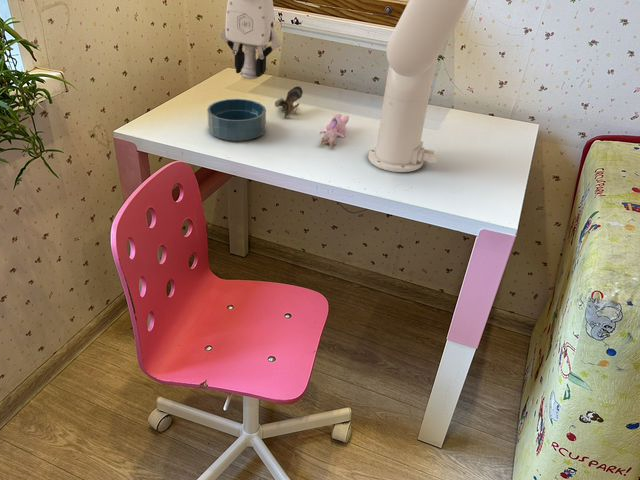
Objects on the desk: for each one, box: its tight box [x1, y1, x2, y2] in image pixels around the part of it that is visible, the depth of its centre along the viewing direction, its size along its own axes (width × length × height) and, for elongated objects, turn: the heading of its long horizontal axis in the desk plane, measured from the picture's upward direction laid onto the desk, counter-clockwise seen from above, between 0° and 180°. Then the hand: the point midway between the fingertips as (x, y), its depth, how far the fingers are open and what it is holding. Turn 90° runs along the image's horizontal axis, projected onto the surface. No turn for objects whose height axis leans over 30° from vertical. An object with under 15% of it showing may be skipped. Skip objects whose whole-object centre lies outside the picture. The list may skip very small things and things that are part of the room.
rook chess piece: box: [240, 44, 259, 80], centre depth 126 cm, size 4×4×8 cm
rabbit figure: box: [319, 113, 350, 149], centre depth 137 cm, size 6×6×15 cm
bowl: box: [206, 98, 267, 142], centre depth 138 cm, size 14×14×6 cm
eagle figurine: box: [274, 86, 304, 119], centre depth 148 cm, size 8×7×9 cm
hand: (250, 72), depth 127 cm, fingers closed on rook chess piece, 4 cm apart
